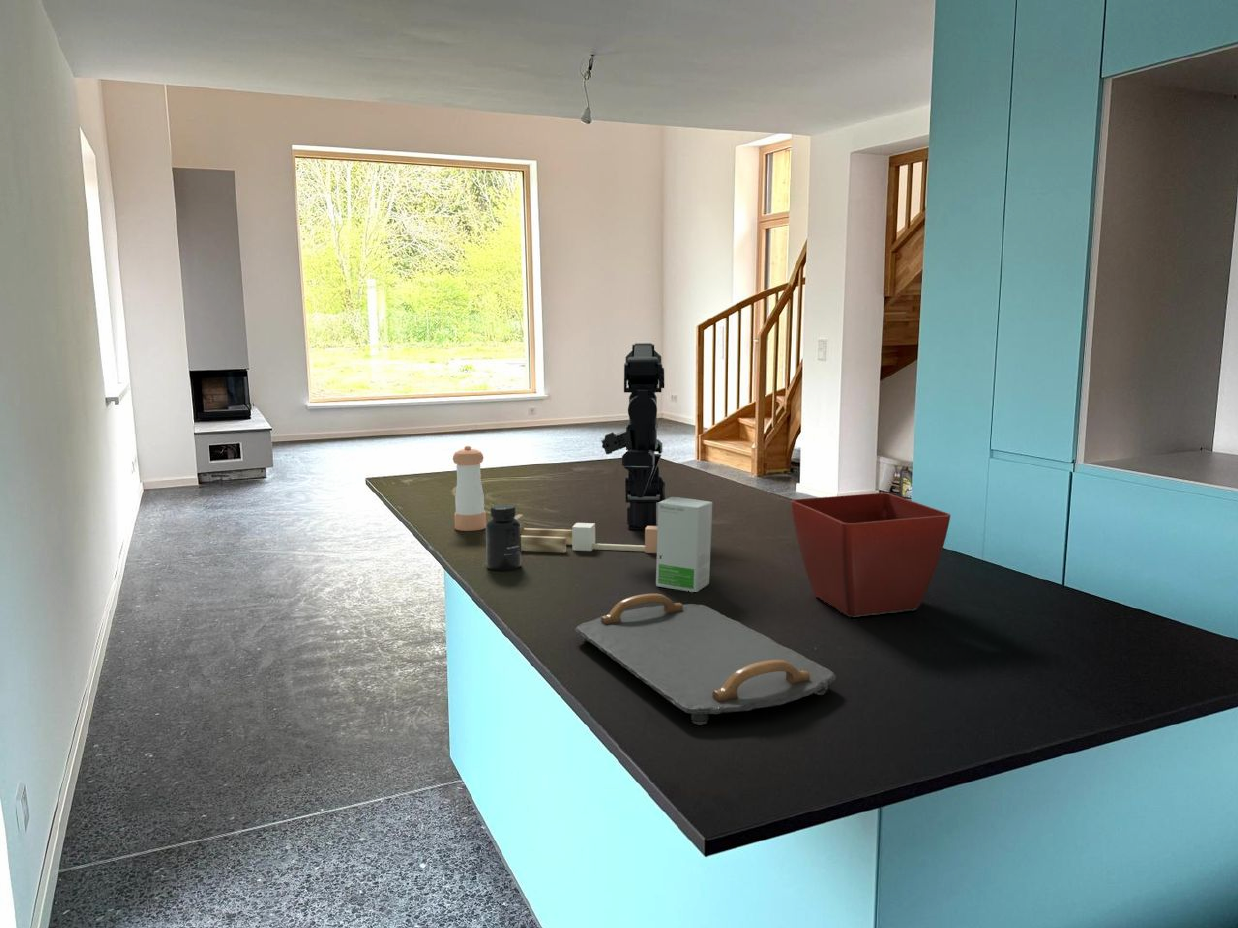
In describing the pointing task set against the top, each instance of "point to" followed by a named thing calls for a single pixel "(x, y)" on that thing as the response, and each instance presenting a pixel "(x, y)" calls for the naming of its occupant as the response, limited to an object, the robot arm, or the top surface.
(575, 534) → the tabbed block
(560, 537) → the oak lane
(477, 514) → the pepper shaker
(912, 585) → the plant pot
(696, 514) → the skincare box
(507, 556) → the supplement bottle
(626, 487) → the robot arm
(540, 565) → the top surface
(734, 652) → the serving board
